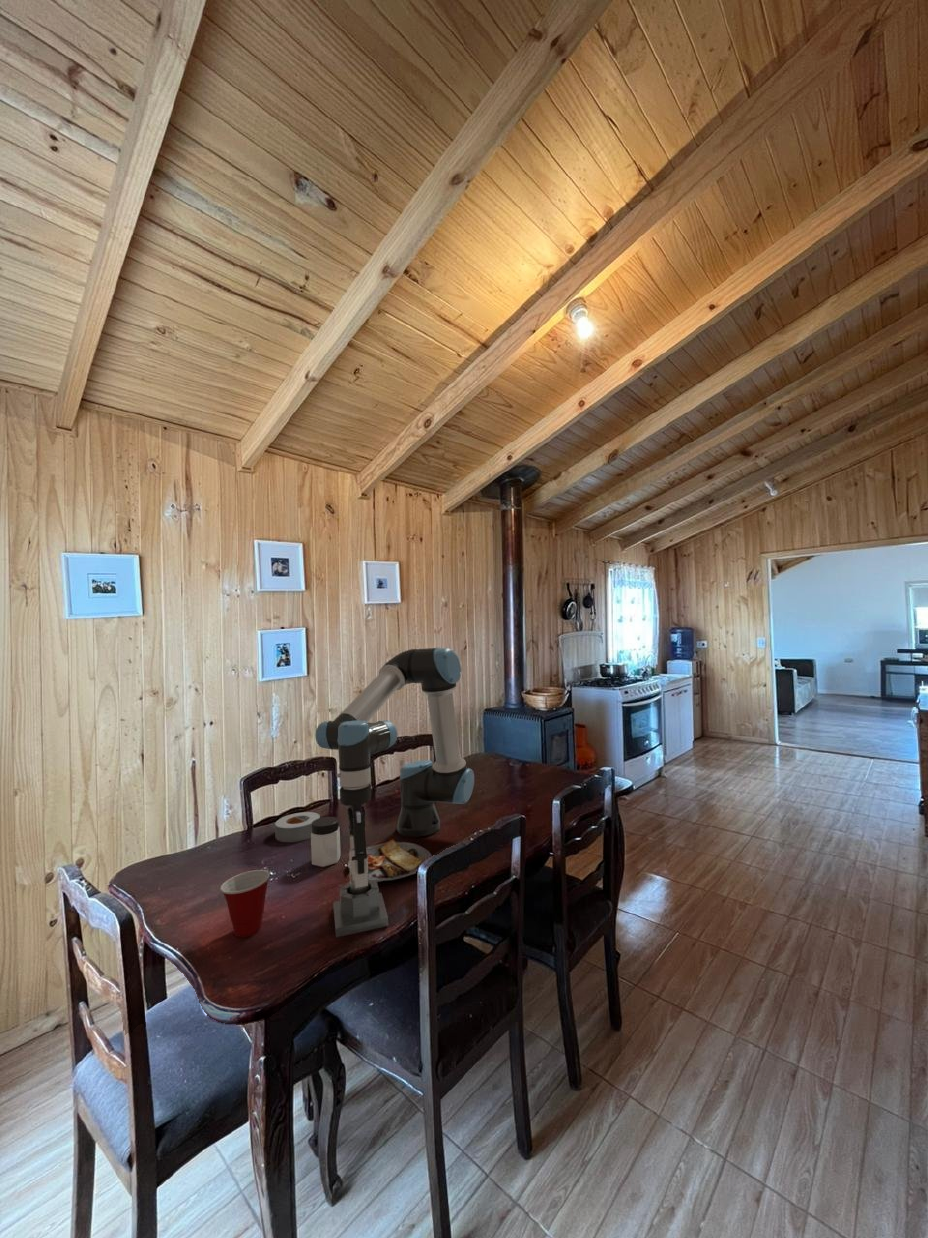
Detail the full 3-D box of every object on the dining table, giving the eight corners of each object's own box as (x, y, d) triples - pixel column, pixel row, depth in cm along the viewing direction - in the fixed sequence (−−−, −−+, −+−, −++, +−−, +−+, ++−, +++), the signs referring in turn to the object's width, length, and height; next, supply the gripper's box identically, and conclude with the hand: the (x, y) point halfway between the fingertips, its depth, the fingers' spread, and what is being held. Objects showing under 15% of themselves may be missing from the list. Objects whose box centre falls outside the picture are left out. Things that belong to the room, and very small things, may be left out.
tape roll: (265, 841, 169) (265, 826, 169) (293, 824, 183) (292, 810, 183) (303, 844, 164) (303, 829, 164) (328, 827, 179) (328, 813, 179)
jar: (315, 869, 145) (314, 829, 145) (308, 860, 151) (306, 821, 152) (344, 861, 150) (343, 821, 150) (336, 852, 156) (334, 814, 157)
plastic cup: (240, 916, 122) (239, 867, 122) (280, 918, 120) (278, 868, 120) (211, 943, 111) (209, 889, 111) (254, 946, 109) (252, 891, 110)
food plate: (336, 862, 149) (336, 851, 149) (403, 841, 163) (403, 831, 163) (372, 897, 129) (372, 884, 129) (445, 870, 142) (445, 858, 142)
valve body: (379, 892, 130) (378, 865, 130) (388, 926, 114) (387, 895, 115) (333, 901, 126) (332, 874, 127) (335, 937, 111) (334, 906, 111)
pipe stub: (367, 902, 121) (366, 845, 122) (370, 912, 117) (368, 853, 118) (349, 906, 120) (348, 848, 121) (351, 915, 116) (349, 856, 116)
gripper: (337, 774, 130) (340, 854, 130) (342, 803, 107) (346, 901, 106) (365, 770, 133) (368, 849, 132) (377, 798, 109) (380, 895, 108)
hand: (358, 873), depth 119 cm, fingers open, 13 cm apart
